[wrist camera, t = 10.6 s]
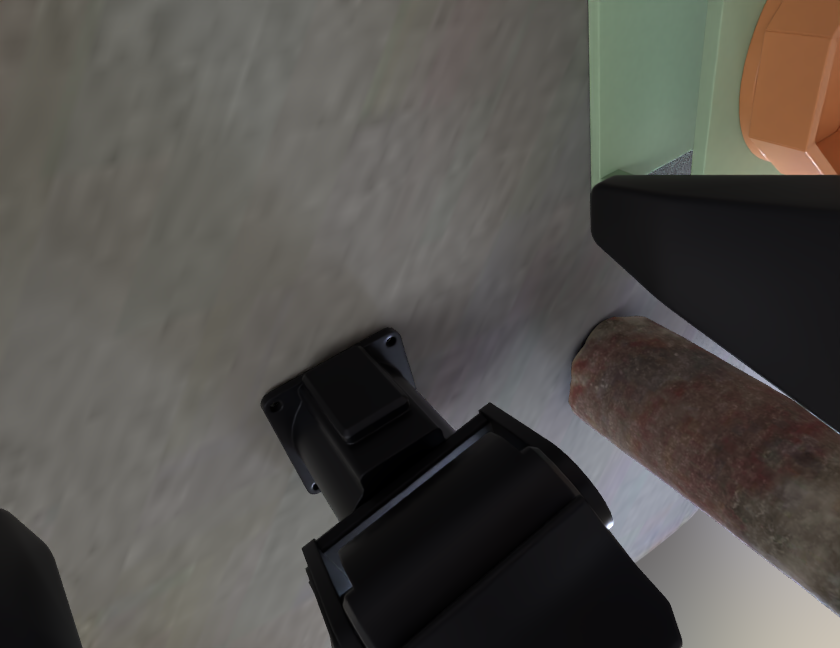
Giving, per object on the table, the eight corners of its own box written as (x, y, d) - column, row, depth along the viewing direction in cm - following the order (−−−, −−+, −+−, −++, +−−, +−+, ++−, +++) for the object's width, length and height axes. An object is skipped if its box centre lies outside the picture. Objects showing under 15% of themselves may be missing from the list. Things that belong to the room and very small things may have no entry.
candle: (665, 312, 38) (1078, 538, 24) (616, 408, 40) (962, 665, 26) (592, 305, 33) (1049, 580, 19) (542, 414, 36) (912, 730, 21)
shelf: (753, 108, 33) (869, 134, 28) (590, 197, 29) (695, 242, 25) (797, -170, 25) (965, -193, 21) (585, -97, 21) (735, -107, 17)
